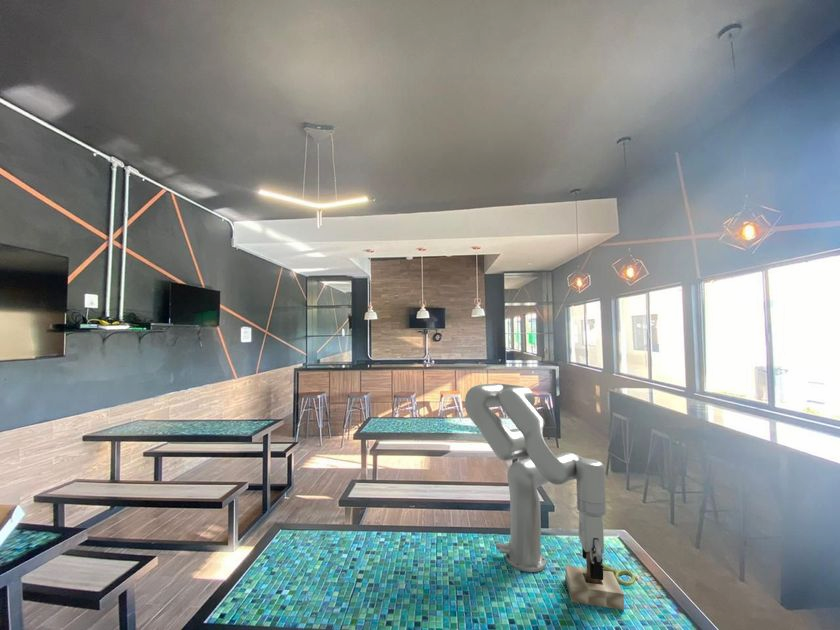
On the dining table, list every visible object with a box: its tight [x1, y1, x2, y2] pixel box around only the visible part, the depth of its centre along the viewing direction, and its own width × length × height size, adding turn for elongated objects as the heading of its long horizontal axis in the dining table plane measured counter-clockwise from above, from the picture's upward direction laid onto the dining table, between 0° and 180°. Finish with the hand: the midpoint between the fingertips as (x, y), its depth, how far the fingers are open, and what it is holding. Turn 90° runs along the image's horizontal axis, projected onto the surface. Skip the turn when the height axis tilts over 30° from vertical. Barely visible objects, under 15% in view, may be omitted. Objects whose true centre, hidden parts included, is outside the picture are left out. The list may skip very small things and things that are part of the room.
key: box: [603, 563, 636, 586], centre depth 113 cm, size 7×12×2 cm, turn 59°
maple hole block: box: [564, 564, 625, 611], centre depth 104 cm, size 13×10×4 cm
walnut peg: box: [585, 553, 599, 584], centre depth 104 cm, size 3×3×10 cm
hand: (592, 568), depth 104 cm, fingers open, 9 cm apart
